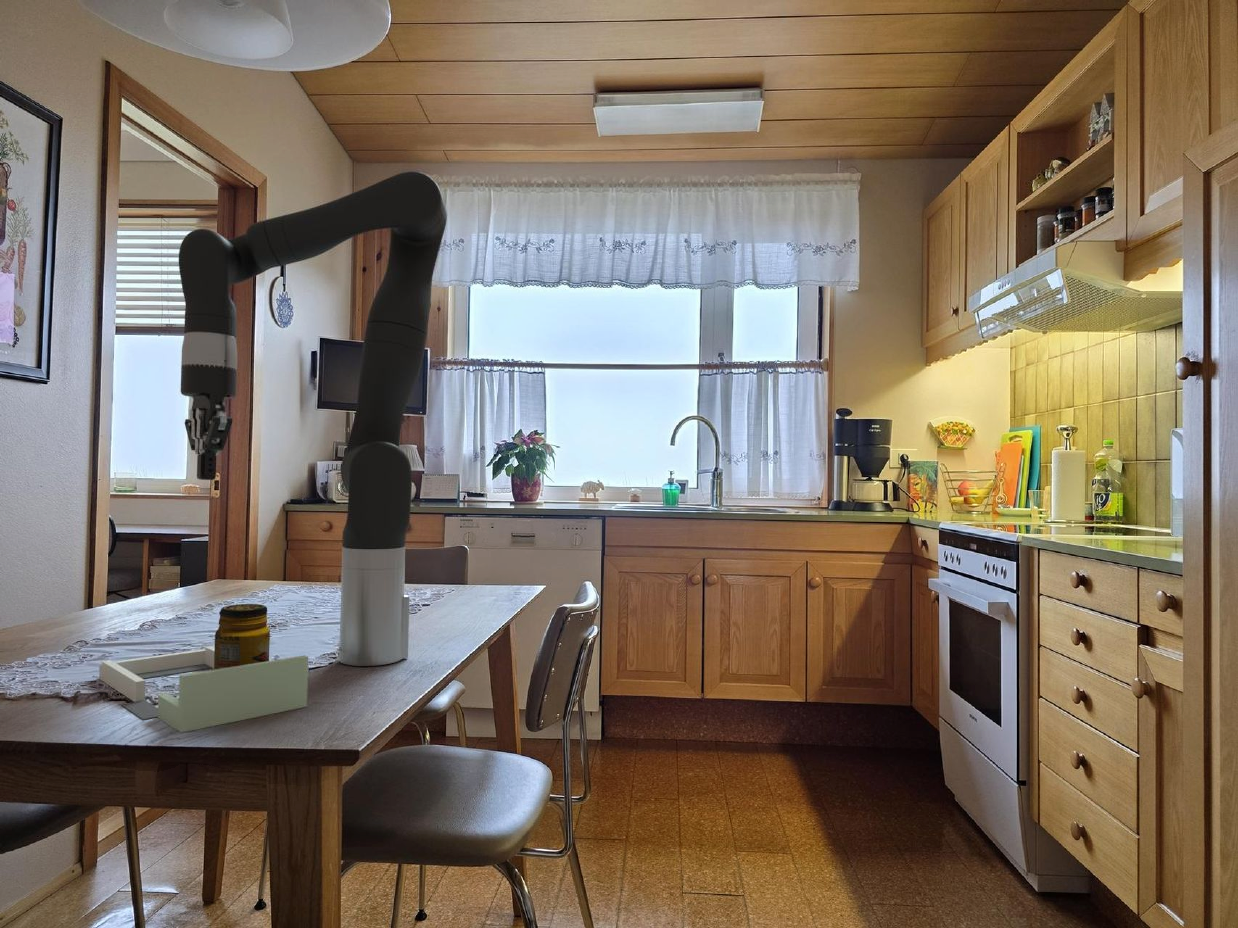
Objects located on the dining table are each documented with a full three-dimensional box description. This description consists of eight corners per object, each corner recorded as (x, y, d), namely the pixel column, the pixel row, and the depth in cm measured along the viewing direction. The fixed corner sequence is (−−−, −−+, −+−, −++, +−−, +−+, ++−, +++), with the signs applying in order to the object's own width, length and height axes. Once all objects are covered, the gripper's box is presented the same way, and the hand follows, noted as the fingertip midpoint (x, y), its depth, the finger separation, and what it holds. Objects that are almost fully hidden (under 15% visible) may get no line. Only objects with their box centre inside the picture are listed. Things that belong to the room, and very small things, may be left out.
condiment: (283, 703, 96) (286, 605, 96) (220, 721, 88) (223, 615, 89) (244, 694, 99) (247, 600, 100) (180, 711, 92) (183, 609, 92)
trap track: (209, 662, 115) (210, 621, 116) (306, 706, 95) (308, 656, 95) (85, 680, 104) (87, 635, 104) (165, 735, 83) (167, 679, 83)
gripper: (253, 365, 117) (249, 480, 117) (218, 372, 126) (215, 479, 126) (199, 358, 111) (195, 480, 111) (167, 366, 120) (163, 478, 120)
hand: (206, 479), depth 118 cm, fingers closed
